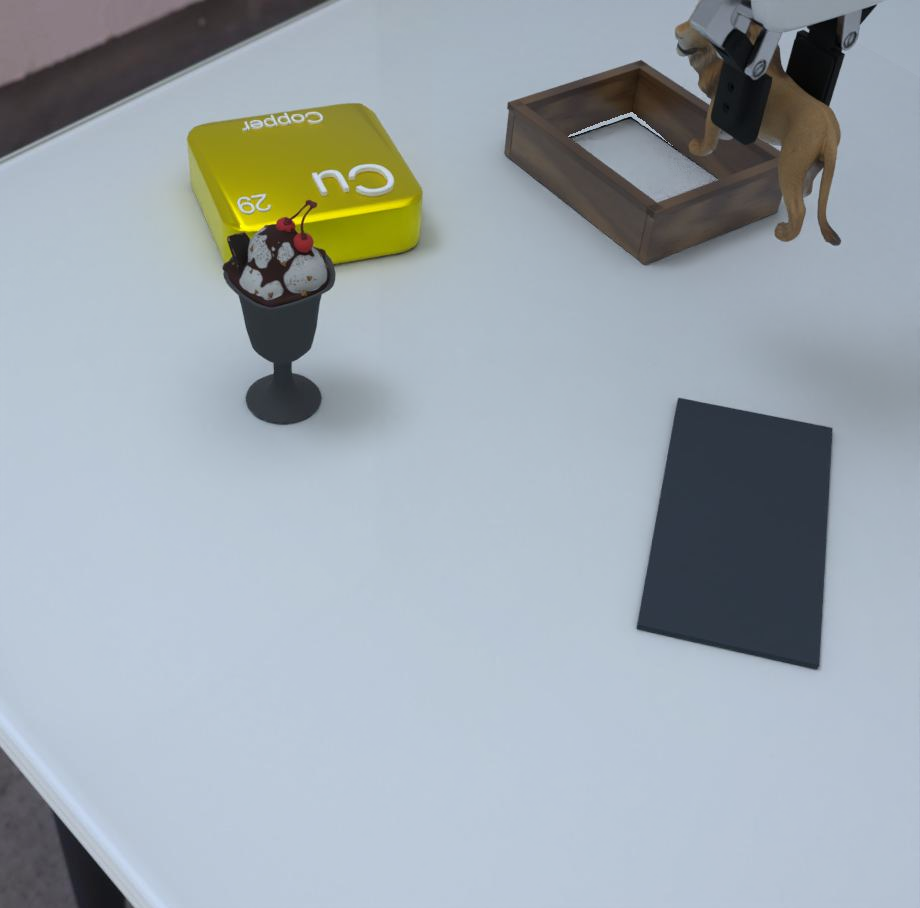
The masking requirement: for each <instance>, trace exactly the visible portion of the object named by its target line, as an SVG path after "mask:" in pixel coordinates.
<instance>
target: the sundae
mask: <svg viewBox="0 0 920 908" xmlns="http://www.w3.org/2000/svg"><path fill="white" fill-rule="evenodd" d="M305 202H306V204H305V205H304V206H303V207H302V208H301V209H300V210H299V212H298V213H296V214H295V215H294V216H292V217H291V218H288V217H283V218H280V219H278V220H277V222H276V224H271V225H265V226H264V227H263V228H261V229H260V230H259V231H258V232H257V233H256V234H255V235H254V236H253V237H252V238H251V239H250V238H249V237H248V235H247V234H246V233H245V232H242V233H239V234H237V233H236V234H234V235H230V236H227V242H228V245H229V248H230V251H231V254H232V257H231V258H230V260H229V261H228V262H226V263H225V264H223V265H222V267H221V269H222V270H223V273H222V274H223V279H224V280H225V283H226V284H227V286H228V287H229V288H230V289H231V290H232V291H233V292H234V293H235V294H236V295H237V296H238V299H239V302H240V307H241V311H242V317H243V321H244V325H245V331H246V333H247V336H248V339H249V342H250V345H251V348H252V349H253V350H254V352H255V353H256V354H257V355H259V356H260V357H261V358H263V359H264V360H266V361H268V362H270V363H272V364H273V365H272V366H273V373H271V374H268V375H265V376H263V377H260V378H258V379H257V380H255V381H254V382H252V384H251V385H250V386H249V388H248V390H247V392H246V395H245V403H246V406H247V409H249V411H250V412H251V413H252V414H253V415H254V416H255V417H258V418H259V419H261V420H263V421H265V422H268V423H273V424H279V425H280V424H281V425H282V424H284V425H285V424H293V423H298V422H301V421H303V420H305V419H307V418H310V417H311V416H312V415H314V413H315V412H317V410H318V409H319V407H320V405H321V404H322V400H323V399H322V393H321V390H320V387H318V385H317V384H316V383H315V382H314V381H312V379H309V378H308V377H306V376H305V375H302V374H299V373H294V372H293V362H295V361H298V360H299V359H300V358H302V357H303V356H305V355H306V354H307V353H308V352H309V351H310V350H311V349H312V346H313V343H314V339H315V335H316V331H317V326H318V320H319V313H320V312H319V311H320V304H321V300H322V295H323V294H325V293H327V292H328V291H331V289H332V288H333V287H334V285H335V283H336V268H335V264H333V263H332V260H331V258H330V257H329V256H328V255H327V254H326V251H325V250H323V249H319V248H316V247H314V246H313V238H312V237H311V236H310V235H309V234H306V233H304V230H303V224H304V220H305V217H306V215H307V214H308V213H309V212H310V211H311V210H312V209H313V208H316V207H317V203H316V202H313V201H311V200H306V201H305ZM308 205H310V208H309V210H308V211H307V212H306V213H305V215H304V216H303V218H302V221H301V226H300V230H301V233H297V231H296V230H295V227H296V226H295V223H294V222H293V220H292V219H294V218H295V217H296V216H297V215H298V214H299V213H300V212H301V211H302V210H303V209H304V208H305V207H306V206H308Z"/></svg>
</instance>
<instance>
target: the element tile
mask: <svg viewBox="0 0 920 908" xmlns="http://www.w3.org/2000/svg"><path fill="white" fill-rule="evenodd" d="M186 145H187V155H188V167H189V177H190V178H189V179H190V185H191V187H192V190H193V192H194V194H195V197H196V199H197V201H198V204H199V206H200V209H201V211H202V214H203V216H204V218H205V220H206V223H207V226H208V228H209V230H210V232H211V235H212V237H213V240H214V243H215V245H216V247H217V250H218V251H219V254H220V257H221V259H222V261H223V263H224V264H225V263H226V262H228V261H229V260H230V258H231V257H232V254H231V251H230V248H229V245H228V242H227V236H230V235H234V234H236V233H237V234H239V233H242V232H245V233H246V234H247V235H248V237H249V238H250V239H251V238H252V237H253V236H254V235H255V234H256V233H257V232H258V231H259V230H260V229H261V228H263V227H264V226H265V225H271V224H276V222H277V220H278V219H280V218H283V217H288V218H291V217H292V216H294V215H295V214H296V213H298V212H299V210H300V209H301V208H302V207H303V206H304V205H305V204H306V202H305V201H306V200H311V201H313V202H316V203H317V207H316V208H313V209H312V210H311V211H310V212H309V213H308V214H307V215H306V217H305V220H304V224H303V230H304V233H306V234H309V235H310V236H311V237H312V238H313V246H314V247H316V248H319V249H323V250H325V251H326V254H327V255H328V256H329V257H330V258H331V260H332V263H333V265H338V264H343V263H350V262H355V261H363V260H368V259H372V258H377V257H378V258H379V257H384V256H385V257H386V256H391V255H395V254H396V255H397V254H400V253H404V252H408V251H409V250H411V249H413V248H415V247H416V246H417V245H418V243H420V239H421V226H422V213H423V211H422V210H423V188H422V186H421V185H420V183H419V181H418V179H417V178H416V176H415V175H414V174H413V172H412V170H411V168H410V167H409V165H408V164H407V162H406V160H405V159H404V157H403V156H402V154H401V152H400V150H399V149H398V148H397V146H396V145H395V143H394V142H393V140H392V138H391V137H390V135H389V134H388V132H387V130H386V128H385V127H384V126H383V124H382V122H381V121H380V118H379V117H378V116H377V114H376V113H375V112H374V111H373V110H372V109H371V108H369V107H368V106H366V105H364V104H362V103H359V102H347V103H337V104H336V103H335V104H327V105H322V106H315V107H307V108H302V109H301V108H300V109H296V110H295V109H294V110H287V111H280V112H273V113H266V114H259V115H253V116H245V117H238V118H231V119H225V120H218V121H209V122H205V123H202V124H199V125H196V126H193V128H191V129H190V130H189V132H188V134H187V137H186ZM309 208H310V205H308V206H306V207H305V208H304V209H303V210H302V211H301V212H300V213H299V214H298V215H297V216H296V217H295V218H294V219H292V220H293V222H294V223H295V226H296V227H295V230H296V231H297V233H301V230H300V226H301V221H302V218H303V216H304V215H305V213H306V212H307V211H308V210H309ZM224 264H223V265H224Z"/></svg>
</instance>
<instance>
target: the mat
mask: <svg viewBox="0 0 920 908" xmlns="http://www.w3.org/2000/svg"><path fill="white" fill-rule="evenodd" d="M833 429H834V428H833V427H830V426H825V425H821V424H815V423H811V422H805V421H800V420H795V419H790V418H784V417H780V416H774V415H768V414H764V413H758V412H753V411H748V410H743V409H739V408H733V407H729V406H723V405H718V404H713V403H707V402H703V401H699V400H698V401H697V400H692V399H689V398H688V399H687V398H683V397H678V398H677V400H676V406H675V413H674V416H673V424H672V429H671V434H670V439H669V446H668V450H667V457H666V462H665V467H664V473H663V478H662V484H661V489H660V496H659V502H658V505H657V512H656V518H655V522H654V523H655V524H654V529H653V533H652V534H653V535H652V540H651V546H650V551H649V556H648V562H647V568H646V574H645V579H644V585H643V590H642V596H641V600H640V601H641V602H640V606H639V613H638V618H637V623H636V629H637V630H641V631H645V632H650V633H654V634H659V635H663V636H667V637H672V638H677V639H681V640H686V641H690V642H694V643H700V644H704V645H707V646H711V647H712V646H713V647H716V648H722V649H726V650H730V651H735V652H739V653H743V654H748V655H751V656H752V655H753V656H756V657H761V658H765V659H770V660H773V661H774V660H775V661H779V662H783V663H788V664H791V665H797V666H802V667H806V668H810V669H815V670H818V669H819V667H820V662H821V660H820V658H821V643H822V628H823V627H822V626H823V610H824V609H823V607H824V593H825V592H824V591H825V590H824V589H825V573H826V571H825V570H826V557H827V556H826V555H827V554H826V552H827V538H828V537H827V536H828V516H829V500H830V484H831V483H830V482H831V466H832V465H831V463H832V447H833V446H832V445H833Z"/></svg>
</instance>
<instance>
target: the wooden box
mask: <svg viewBox="0 0 920 908" xmlns="http://www.w3.org/2000/svg"><path fill="white" fill-rule="evenodd" d="M506 105H507V106H506V110H507V111H508V112H507V113H508V114H507V123H506V133H505V142H504V150H503V151H504V152H503V154H505V155H504V156H506V157H507V158H508V159H510V160H511V161H512V162H513V163H515V164H516V165H517V166H519V167H520V168H521V169H522V170H524V171H525V172H526V173H527V174H529V175H530V176H531V177H533V178H534V179H535V180H536V181H537V182H539V183H540V184H541V185H542V186H544V187H546V189H548V190H549V191H550V192H552V194H554V195H555V196H557V197H558V198H559V199H560V200H562V201H563V202H564V203H565V204H567V205H568V206H569V207H570V208H572V209H573V210H574V211H576V212H577V213H578V214H579V215H580V216H582V217H583V218H585V219H586V220H587V221H588V222H589V223H591V224H592V225H593V226H594V227H596V228H597V229H599V230H600V231H601V232H602V233H604V235H606V236H607V237H609V238H610V239H611V240H612V241H614V242H615V243H616V244H617V245H619V246H620V247H621V248H623V249H624V250H625V251H626V252H628V253H629V254H630V255H631V256H633V257H634V258H635V259H636V260H638V261H639V262H640V263H642V264H643V265H644V266H645V265H649V264H650V263H654V262H656V261H658V260H661V259H664V258H666V257H668V256H671V255H673V254H676V253H678V252H681V251H684V250H686V249H689V248H691V247H694V246H697V245H698V244H700V243H703V242H706V241H708V240H711V239H714V238H716V237H719V236H721V235H724V234H726V233H729V232H731V231H734V230H737V229H739V228H741V227H744V226H747V225H749V224H752V223H754V222H757V221H759V220H761V219H763V218H767V217H769V216H771V215H774V214H777V213H778V212H779V209H780V205H781V202H782V199H783V195H782V192H781V188H780V185H779V176H778V160H779V154H780V151H781V150H780V149H778V148H776V147H775V146H774V145H771V144H769V143H766V142H764V141H762V140H761V139H760V138H758V137H757V139H756V141H755V142H754V143H751V144H748V145H744V144H742V143H740V142H739V141H738V140H736V139H735V138H733V139H731V140H722V139H720V138H719V140H718V143H717V146H716V148H715V150H713V152H712V153H710V154H708V155H705V156H698V155H694V154H692V153H690V149H689V144H690V142H691V140H692V139H695V138H697V139H704V136H705V127H706V118H707V113H708V109H709V106H710V103H707V102H706V101H705V100H703V99H702V98H700V97H699V96H697V95H696V94H694V93H692V92H691V91H689V90H688V89H686V88H685V87H683V86H682V85H680V84H679V83H677V82H676V81H674V80H673V79H671V78H669V77H668V76H666V75H665V74H663V73H662V72H660V71H659V70H657V69H656V68H654V67H652V66H651V65H649V64H648V63H647V62H645V61H644V60H642V59H640V60H636V61H633V62H630V63H626V64H624V65H620V66H617V67H614V68H611V69H608V70H605V71H601V72H598V73H595V74H593V75H589V76H586V77H583V78H579V79H577V80H574V81H570V82H567V83H563V84H561V85H558V86H554V87H552V88H551V87H550V88H548V89H545V90H542V91H539V92H535V93H533V94H530V95H526V96H523V97H520V98H515V99H513V100H510V101H508V102H507V104H506ZM630 112H633V113H634V114H636V115H637V117H638V118H640V119H642V120H643V121H645V122H646V124H648V125H649V126H650V127H651V128H652V129H654V130H655V131H656V132H657V133H659V134H660V135H661V136H662V137H663V138H664V139H665V140H666V141H667V142H669V143H670V144H671V145H673V146H674V147H673V148H674V149H675V148H676V149H677V150H676V149H675V150H676V151H678V152H680V153H681V154H682V155H683V156H685V157H686V158H688V159H689V160H690V161H692V162H693V163H695V164H696V165H698V166H699V167H701V168H702V169H704V170H705V171H707V173H709V174H711V175H712V176H713V177H715V178H717V179H716V180H713V181H711V182H708V183H706V184H702V185H700V186H698V187H696V188H693V189H691V190H688V191H685V192H682V193H679V194H677V195H674V196H671V197H669V198H666V199H663V200H661V201H658V202H657V201H656V200H655V199H653V198H652V197H651V196H649V195H648V194H646V193H645V192H643V191H642V190H641V189H640V188H638V187H637V186H635V185H634V184H633V183H631V182H630V181H629V180H627V179H626V178H625V177H624V176H622V175H621V174H619V173H618V172H617V171H615V170H614V169H613V168H611V167H610V166H608V165H607V164H606V163H605V162H603V161H602V160H600V159H599V158H598V157H596V156H595V155H593V153H591V152H589V151H588V150H587V149H586V148H584V147H583V146H581V145H580V144H579V143H578V142H576V141H574V140H573V139H572V137H571V138H569V137H568V136H569V135H570V134H573V133H576V132H578V131H581V130H582V129H585V128H587V127H590V126H593V125H595V124H598V123H600V122H603V121H607V120H610V119H612V118H615V117H618V116H620V115H624V114H627V113H630ZM671 145H670V146H671Z"/></svg>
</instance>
